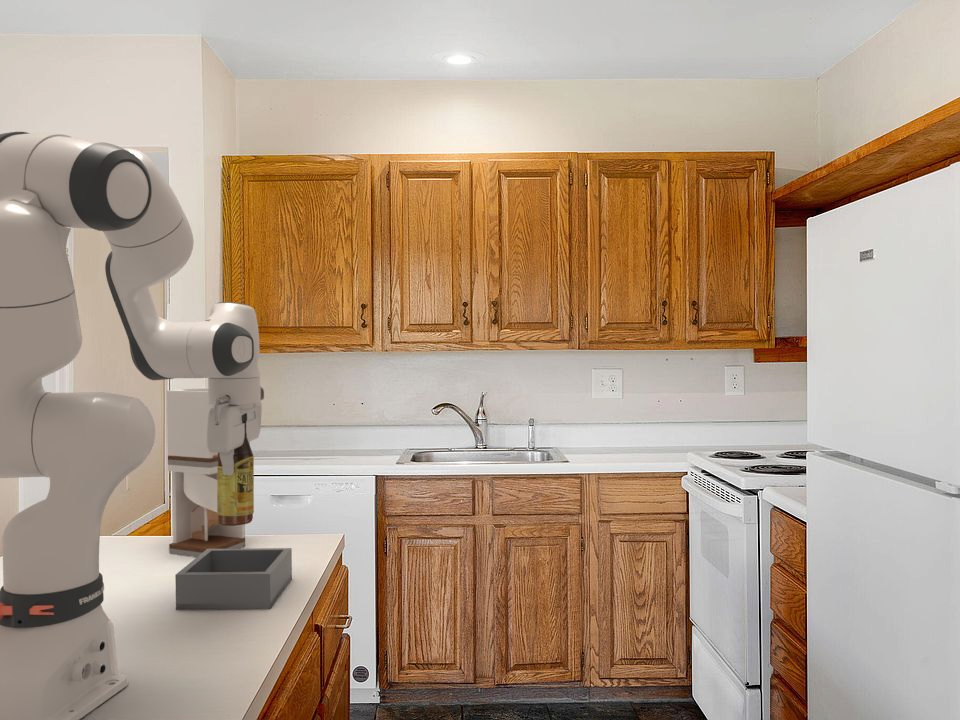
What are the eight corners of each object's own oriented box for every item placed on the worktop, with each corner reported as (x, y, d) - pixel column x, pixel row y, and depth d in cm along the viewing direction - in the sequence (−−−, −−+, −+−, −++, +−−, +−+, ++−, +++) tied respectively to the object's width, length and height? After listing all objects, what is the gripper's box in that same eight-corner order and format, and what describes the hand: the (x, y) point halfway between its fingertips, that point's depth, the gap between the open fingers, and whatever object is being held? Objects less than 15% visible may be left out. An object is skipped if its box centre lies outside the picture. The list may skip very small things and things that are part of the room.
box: (270, 608, 131) (270, 573, 131) (175, 609, 131) (175, 574, 131) (291, 579, 147) (291, 548, 147) (207, 580, 147) (207, 548, 147)
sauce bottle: (243, 528, 134) (241, 414, 134) (210, 526, 136) (208, 414, 135) (260, 519, 141) (259, 411, 140) (229, 518, 142) (227, 410, 141)
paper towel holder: (169, 553, 165) (166, 390, 164) (204, 541, 175) (202, 387, 174) (211, 559, 160) (208, 391, 159) (245, 546, 170) (243, 388, 169)
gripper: (234, 398, 127) (235, 481, 128) (266, 389, 148) (267, 461, 148) (196, 398, 127) (197, 481, 128) (233, 389, 148) (234, 461, 148)
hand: (235, 470), depth 138 cm, fingers closed on sauce bottle, 6 cm apart
